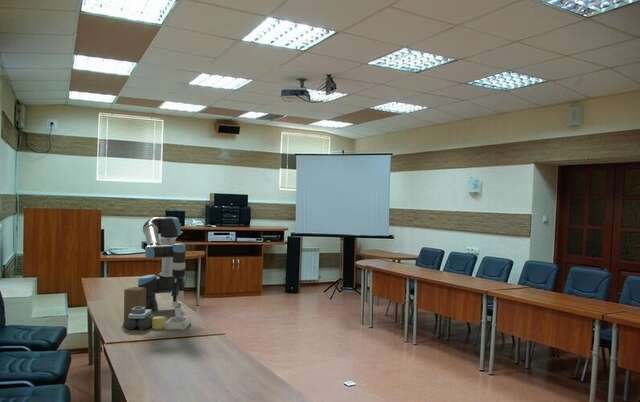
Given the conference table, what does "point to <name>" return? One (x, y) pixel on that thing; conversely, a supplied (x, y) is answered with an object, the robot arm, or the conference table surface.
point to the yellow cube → (158, 322)
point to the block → (133, 299)
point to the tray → (177, 324)
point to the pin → (178, 313)
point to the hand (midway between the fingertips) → (178, 303)
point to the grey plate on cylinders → (139, 318)
